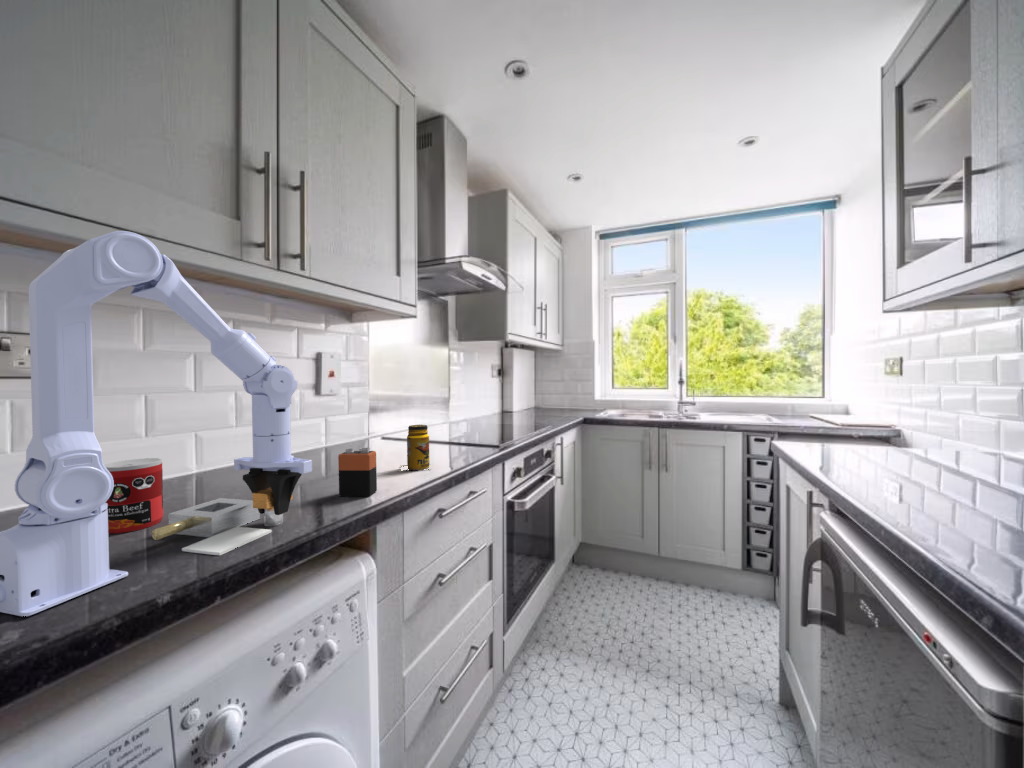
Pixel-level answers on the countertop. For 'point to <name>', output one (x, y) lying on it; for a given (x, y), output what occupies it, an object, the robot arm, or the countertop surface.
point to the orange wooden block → (267, 507)
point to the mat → (226, 540)
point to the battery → (357, 473)
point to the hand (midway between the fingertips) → (273, 512)
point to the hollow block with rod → (209, 518)
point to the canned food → (135, 495)
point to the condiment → (417, 448)
